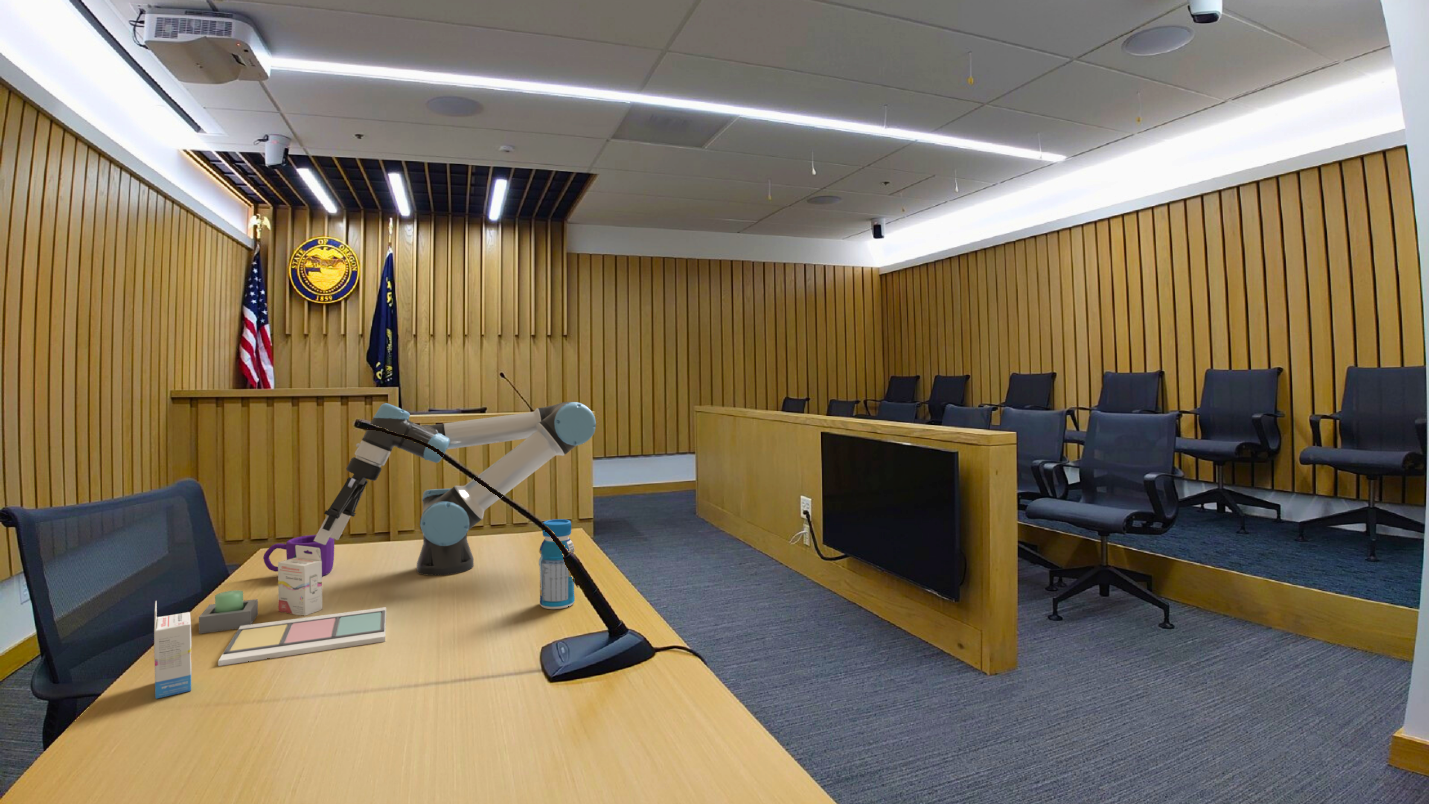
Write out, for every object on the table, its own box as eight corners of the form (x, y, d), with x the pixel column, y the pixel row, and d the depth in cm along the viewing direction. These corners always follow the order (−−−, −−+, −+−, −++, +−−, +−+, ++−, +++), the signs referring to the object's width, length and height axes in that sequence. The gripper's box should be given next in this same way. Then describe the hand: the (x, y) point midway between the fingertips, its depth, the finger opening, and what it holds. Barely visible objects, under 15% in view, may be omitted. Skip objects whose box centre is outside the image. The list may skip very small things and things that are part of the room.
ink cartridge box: (276, 612, 154) (275, 549, 154) (296, 605, 159) (295, 544, 158) (304, 616, 151) (303, 552, 151) (323, 609, 156) (322, 547, 156)
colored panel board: (386, 611, 155) (386, 605, 155) (385, 641, 137) (385, 635, 137) (240, 630, 143) (240, 624, 143) (218, 666, 125) (218, 659, 125)
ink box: (192, 691, 114) (191, 606, 114) (154, 700, 111) (152, 612, 111) (191, 674, 121) (189, 594, 121) (155, 682, 118) (153, 599, 117)
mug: (340, 568, 191) (339, 533, 191) (326, 579, 180) (326, 542, 180) (272, 571, 188) (272, 536, 187) (254, 583, 177) (253, 545, 176)
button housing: (257, 614, 153) (257, 599, 153) (250, 627, 145) (250, 611, 145) (209, 620, 149) (209, 604, 149) (199, 633, 141) (198, 617, 141)
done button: (245, 610, 150) (245, 589, 150) (240, 617, 146) (240, 595, 145) (218, 613, 148) (218, 592, 148) (212, 620, 143) (212, 598, 143)
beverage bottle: (549, 612, 154) (549, 526, 154) (532, 603, 160) (532, 521, 160) (581, 605, 160) (581, 522, 159) (564, 596, 166) (564, 516, 165)
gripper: (362, 457, 181) (323, 531, 176) (342, 453, 158) (296, 538, 153) (389, 468, 183) (351, 541, 178) (374, 466, 159) (329, 550, 154)
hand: (326, 540), depth 165 cm, fingers open, 13 cm apart
